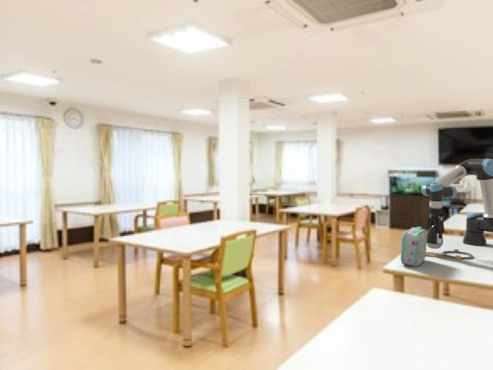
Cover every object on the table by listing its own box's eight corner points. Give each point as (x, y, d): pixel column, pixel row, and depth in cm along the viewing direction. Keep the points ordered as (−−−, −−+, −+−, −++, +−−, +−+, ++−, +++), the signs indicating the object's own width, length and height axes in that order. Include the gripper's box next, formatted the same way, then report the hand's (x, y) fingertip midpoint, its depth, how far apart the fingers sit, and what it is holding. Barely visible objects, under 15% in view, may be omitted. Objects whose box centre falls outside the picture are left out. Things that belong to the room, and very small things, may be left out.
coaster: (424, 252, 262) (424, 251, 262) (443, 254, 258) (443, 253, 258) (424, 256, 252) (424, 255, 252) (443, 258, 248) (443, 257, 248)
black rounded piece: (446, 248, 252) (447, 225, 251) (435, 250, 248) (436, 226, 247) (433, 245, 261) (433, 223, 260) (422, 247, 257) (422, 224, 256)
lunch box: (409, 257, 250) (410, 223, 248) (427, 259, 244) (428, 225, 242) (398, 266, 228) (399, 229, 227) (417, 269, 222) (418, 231, 221)
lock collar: (441, 250, 267) (441, 247, 267) (471, 253, 260) (471, 250, 260) (442, 258, 248) (442, 254, 247) (474, 261, 240) (474, 257, 240)
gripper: (421, 205, 264) (419, 238, 265) (440, 209, 241) (438, 245, 243) (431, 205, 264) (430, 238, 266) (451, 209, 242) (450, 245, 243)
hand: (434, 241), depth 254 cm, fingers closed on black rounded piece, 10 cm apart
